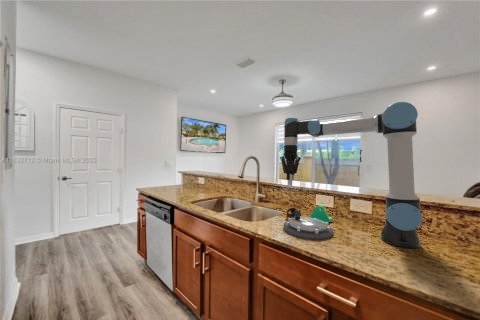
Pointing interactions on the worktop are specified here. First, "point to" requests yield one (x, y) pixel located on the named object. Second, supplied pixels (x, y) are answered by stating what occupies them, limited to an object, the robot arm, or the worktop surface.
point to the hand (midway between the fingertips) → (289, 185)
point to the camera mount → (320, 214)
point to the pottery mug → (291, 212)
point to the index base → (308, 235)
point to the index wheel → (307, 224)
